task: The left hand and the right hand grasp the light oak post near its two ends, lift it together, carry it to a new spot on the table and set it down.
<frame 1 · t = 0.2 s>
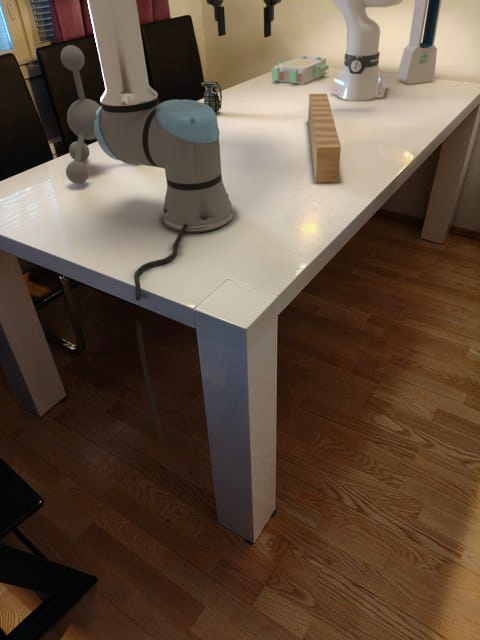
left hand: (244, 36, 129), 28 cm above the table, tool pointing down, fingers open, 13 cm apart
molecular model: (107, 168, 135), on the table
decorative block: (299, 78, 209), on the table
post: (321, 148, 139), on the table
grenade: (213, 113, 172), on the table
electronic device: (414, 81, 195), on the table
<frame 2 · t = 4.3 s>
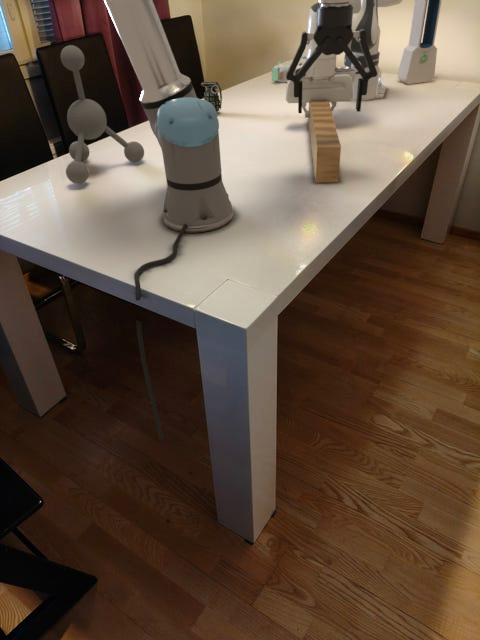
left hand: (328, 111, 115), 15 cm above the table, tool pointing down, fingers open, 13 cm apart
right hand: (318, 117, 152), 3 cm above the table, tool pointing down, fingers closed on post, 5 cm apart
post: (321, 148, 139), on the table, touching right hand
everything else where it was.
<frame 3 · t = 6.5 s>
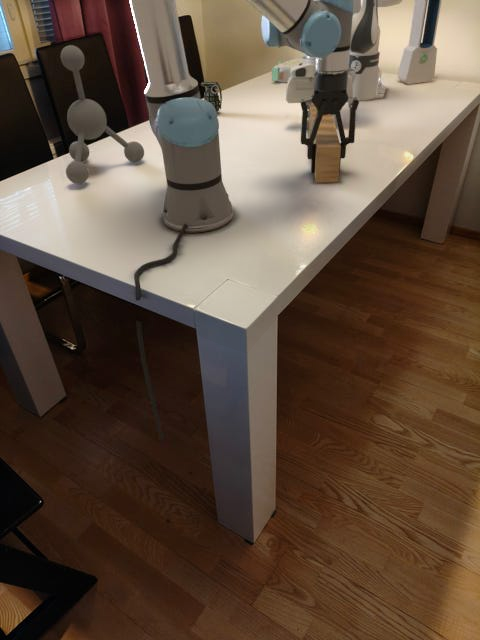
left hand: (325, 170, 124), 1 cm above the table, tool pointing down, fingers closed on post, 6 cm apart
right hand: (318, 117, 152), 3 cm above the table, tool pointing down, fingers closed on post, 5 cm apart
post: (321, 148, 139), on the table, touching left hand, right hand
everything else where it was.
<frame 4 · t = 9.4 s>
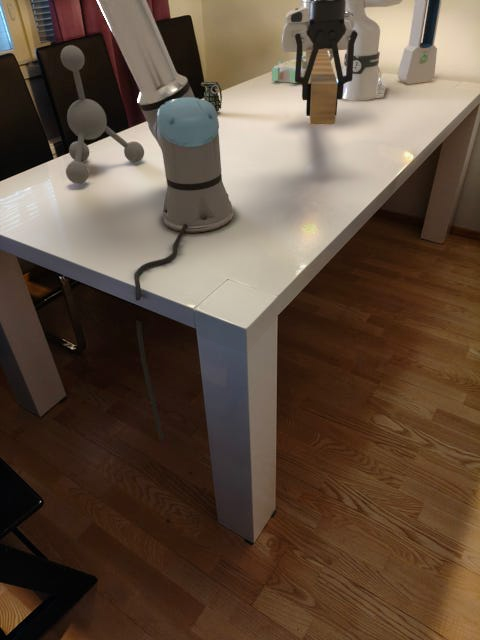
left hand: (321, 113, 116), 14 cm above the table, tool pointing down, fingers closed on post, 6 cm apart
right hand: (315, 67, 144), 17 cm above the table, tool pointing down, fingers closed on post, 5 cm apart
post: (317, 96, 131), point 14 cm above the table, touching left hand, right hand
everything else where it was.
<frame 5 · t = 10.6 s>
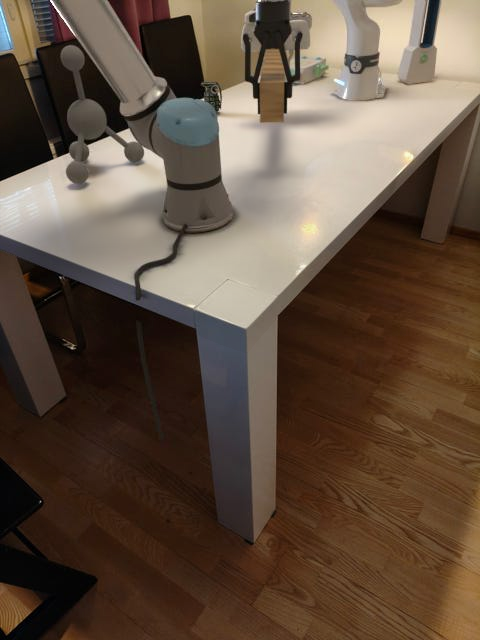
left hand: (272, 112, 119), 14 cm above the table, tool pointing down, fingers closed on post, 6 cm apart
right hand: (275, 67, 147), 17 cm above the table, tool pointing down, fingers closed on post, 5 cm apart
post: (274, 95, 134), point 14 cm above the table, touching left hand, right hand
everything else where it was.
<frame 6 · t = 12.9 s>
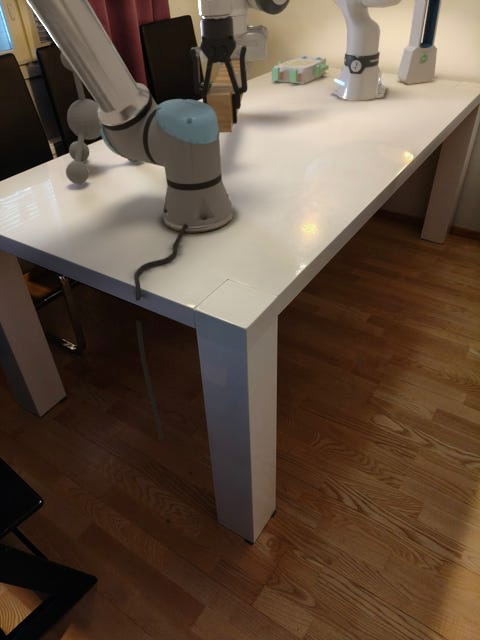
left hand: (223, 122, 124), 11 cm above the table, tool pointing down, fingers closed on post, 6 cm apart
right hand: (235, 77, 152), 14 cm above the table, tool pointing down, fingers closed on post, 5 cm apart
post: (230, 105, 140), point 11 cm above the table, touching left hand, right hand
everything else where it was.
when the left hand's fingers open (2 cm above the table, at t = 14.5 s): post drops 1 cm, on the table.
when the right hand's fingers open (4 cm above the table, at t = 14.7 s): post stays where it is, on the table.
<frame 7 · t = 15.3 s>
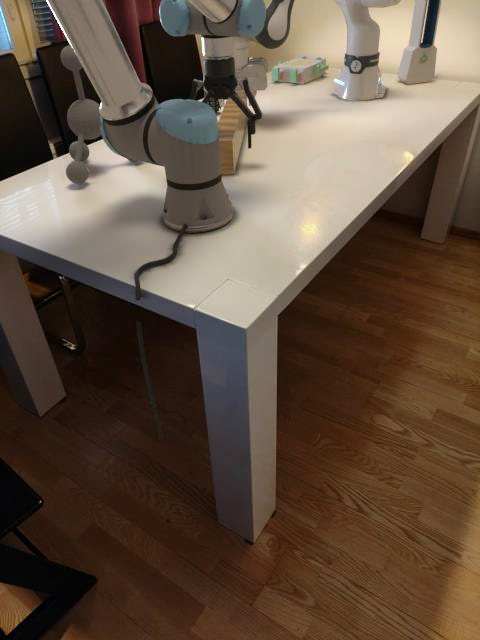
left hand: (224, 147, 128), 5 cm above the table, tool pointing down, fingers open, 13 cm apart
right hand: (236, 105, 158), 6 cm above the table, tool pointing down, fingers open, 8 cm apart
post: (232, 142, 146), on the table
everything else where it was.
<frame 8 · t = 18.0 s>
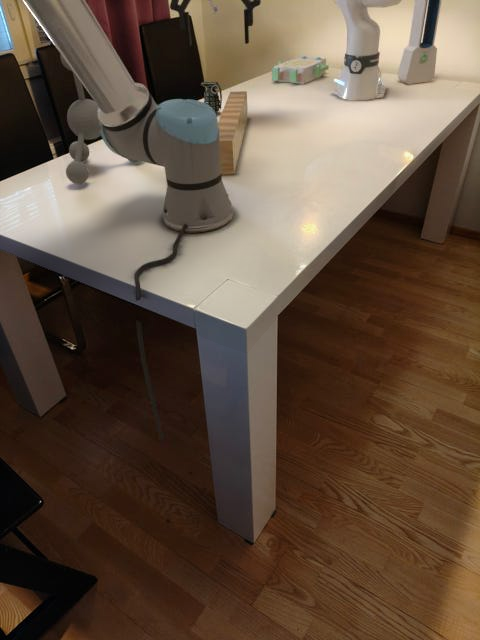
left hand: (218, 44, 114), 29 cm above the table, tool pointing down, fingers open, 13 cm apart
right hand: (231, 13, 142), 31 cm above the table, tool pointing down, fingers open, 8 cm apart
nothing on the table moved.
at the end: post inside the target area (0.2 cm from its centre), on the table; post tilted 0°; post never tilted more than 2° during the clip; both hands held the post at the same time; the left hand is holding nothing; the right hand is holding nothing; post at rest at the end (0.0 cm/s) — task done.
